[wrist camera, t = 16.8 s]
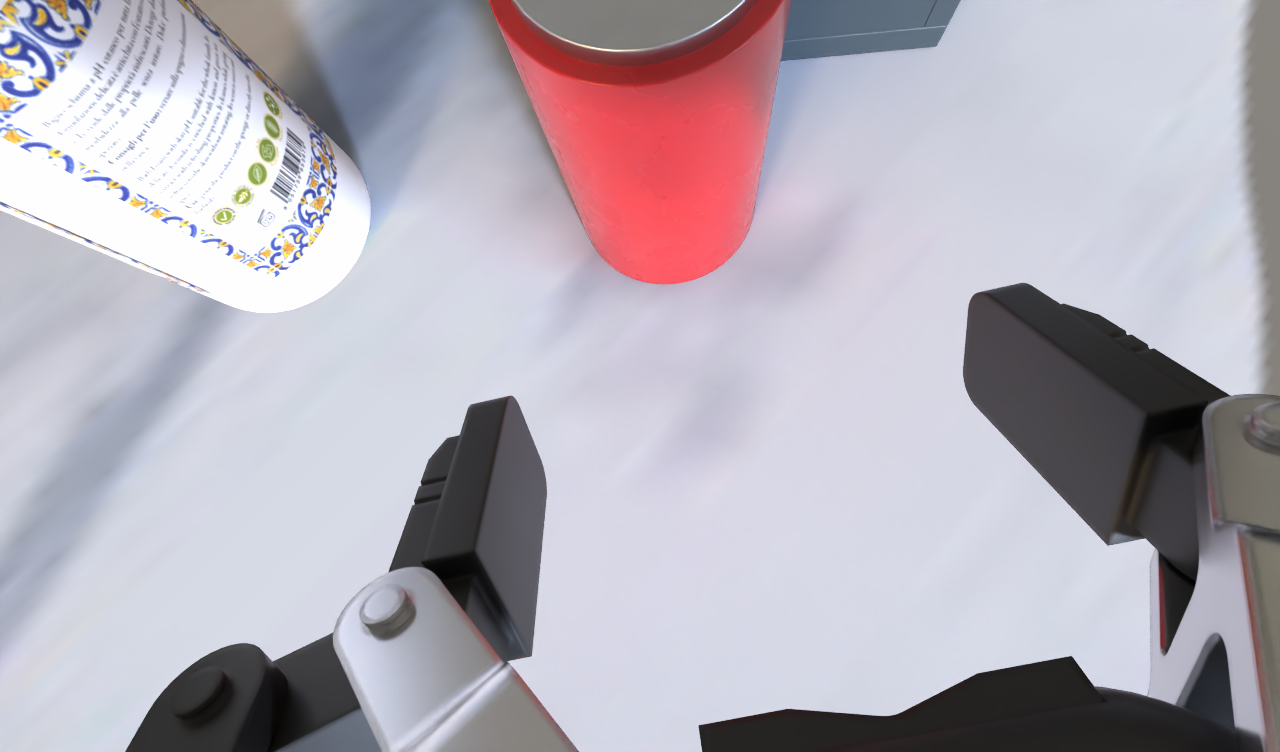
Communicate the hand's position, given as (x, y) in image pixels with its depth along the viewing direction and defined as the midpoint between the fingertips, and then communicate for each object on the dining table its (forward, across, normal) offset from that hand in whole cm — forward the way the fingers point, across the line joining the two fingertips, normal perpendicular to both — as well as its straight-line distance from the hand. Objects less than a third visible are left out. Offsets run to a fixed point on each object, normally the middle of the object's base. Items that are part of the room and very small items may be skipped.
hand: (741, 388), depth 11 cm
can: (+12, 0, 0) cm, 12 cm away
